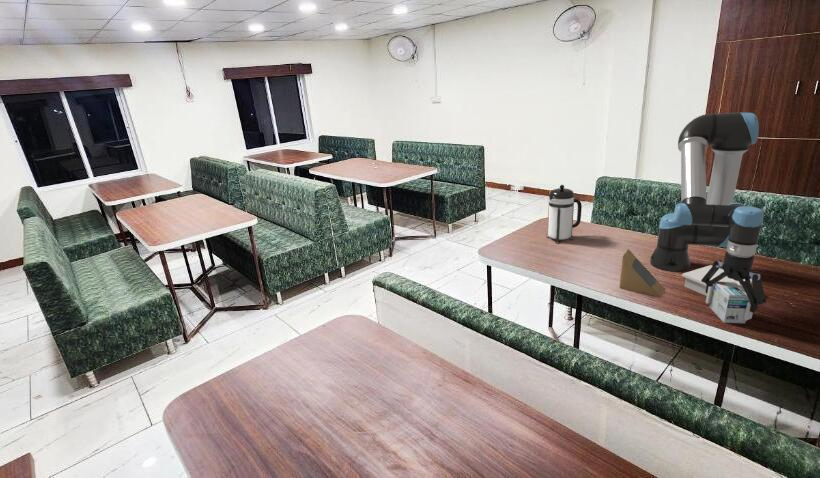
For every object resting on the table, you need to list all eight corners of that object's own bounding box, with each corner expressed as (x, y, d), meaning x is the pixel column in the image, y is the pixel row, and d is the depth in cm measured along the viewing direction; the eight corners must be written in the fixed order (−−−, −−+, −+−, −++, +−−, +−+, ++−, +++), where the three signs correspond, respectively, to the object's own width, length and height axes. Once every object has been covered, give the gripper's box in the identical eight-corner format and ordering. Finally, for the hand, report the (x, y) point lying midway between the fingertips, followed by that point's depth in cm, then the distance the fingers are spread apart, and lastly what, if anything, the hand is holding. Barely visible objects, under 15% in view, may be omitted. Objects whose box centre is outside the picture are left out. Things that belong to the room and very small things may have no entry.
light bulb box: (746, 324, 137) (752, 295, 134) (723, 323, 139) (729, 295, 135) (729, 307, 147) (735, 281, 143) (708, 307, 149) (713, 280, 145)
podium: (680, 286, 164) (682, 273, 162) (708, 277, 169) (710, 265, 167) (720, 303, 150) (723, 290, 148) (750, 293, 155) (753, 280, 153)
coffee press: (572, 245, 212) (576, 189, 201) (541, 241, 220) (543, 187, 210) (580, 234, 225) (583, 181, 215) (550, 231, 234) (552, 179, 223)
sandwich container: (662, 298, 158) (667, 262, 152) (619, 288, 167) (622, 255, 161) (665, 288, 164) (671, 254, 158) (623, 280, 173) (627, 247, 168)
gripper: (695, 244, 144) (686, 297, 152) (774, 269, 123) (759, 330, 130) (710, 240, 147) (700, 293, 154) (790, 264, 125) (774, 324, 133)
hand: (727, 310), depth 142 cm, fingers closed on light bulb box, 12 cm apart
